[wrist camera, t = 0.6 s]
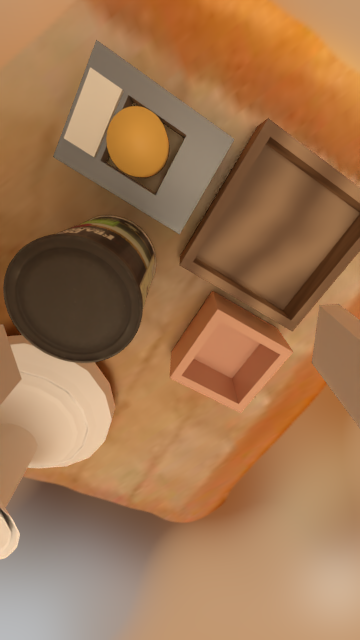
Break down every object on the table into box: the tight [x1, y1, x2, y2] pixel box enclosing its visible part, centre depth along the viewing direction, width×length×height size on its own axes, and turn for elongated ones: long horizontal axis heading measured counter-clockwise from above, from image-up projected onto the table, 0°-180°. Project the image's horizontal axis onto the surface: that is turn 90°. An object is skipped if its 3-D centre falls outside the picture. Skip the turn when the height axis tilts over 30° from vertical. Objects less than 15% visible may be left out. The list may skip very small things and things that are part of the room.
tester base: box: [53, 40, 234, 234], centre depth 29 cm, size 14×10×3 cm
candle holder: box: [0, 335, 115, 559], centre depth 34 cm, size 20×20×19 cm
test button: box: [106, 106, 169, 178], centre depth 27 cm, size 5×5×4 cm
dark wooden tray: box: [180, 118, 360, 331], centre depth 32 cm, size 15×15×4 cm
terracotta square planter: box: [170, 291, 293, 413], centre depth 37 cm, size 10×10×6 cm
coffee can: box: [4, 215, 156, 363], centre depth 29 cm, size 10×10×14 cm
